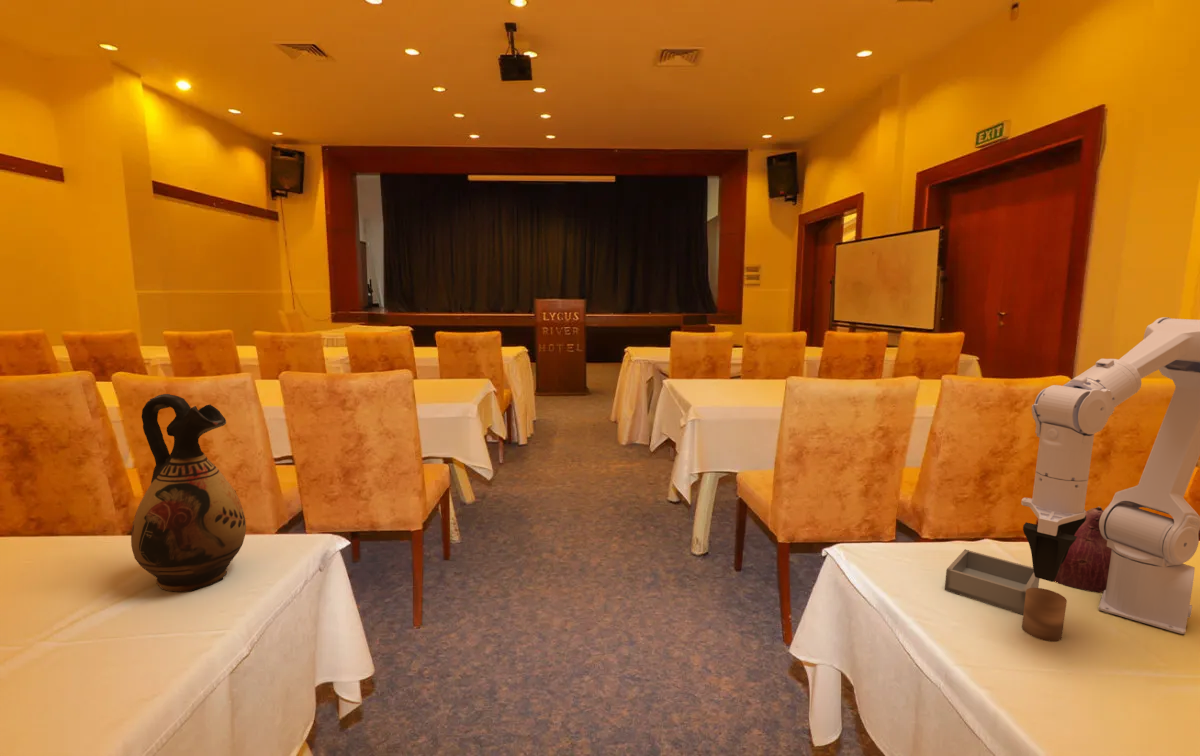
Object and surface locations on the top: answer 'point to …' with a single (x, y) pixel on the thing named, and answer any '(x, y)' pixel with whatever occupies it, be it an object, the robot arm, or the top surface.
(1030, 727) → the top surface
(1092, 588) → the vegetable
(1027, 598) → the walnut cylinder
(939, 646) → the top surface
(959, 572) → the grey bin
